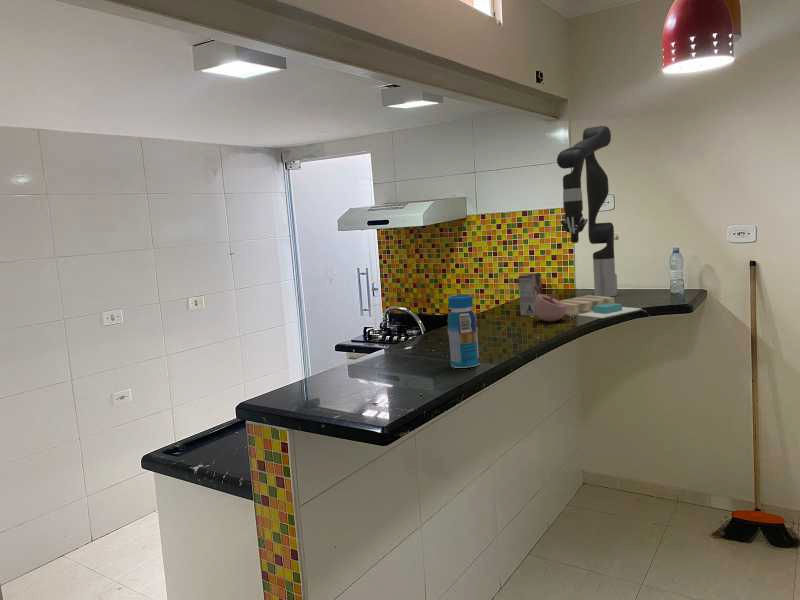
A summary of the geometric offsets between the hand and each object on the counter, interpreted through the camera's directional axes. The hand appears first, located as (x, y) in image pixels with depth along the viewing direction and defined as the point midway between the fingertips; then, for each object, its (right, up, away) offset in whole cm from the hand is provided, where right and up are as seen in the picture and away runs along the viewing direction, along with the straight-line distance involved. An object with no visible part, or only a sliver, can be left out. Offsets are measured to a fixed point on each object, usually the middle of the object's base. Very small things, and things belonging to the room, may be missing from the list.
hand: (574, 242), depth 251 cm
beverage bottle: (-53, -42, -78) cm, 103 cm away
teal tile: (+9, -27, -14) cm, 31 cm away
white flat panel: (+9, -28, -14) cm, 33 cm away
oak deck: (+2, -27, -2) cm, 28 cm away
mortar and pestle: (-15, -32, -21) cm, 41 cm away
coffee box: (-18, -29, -1) cm, 34 cm away
